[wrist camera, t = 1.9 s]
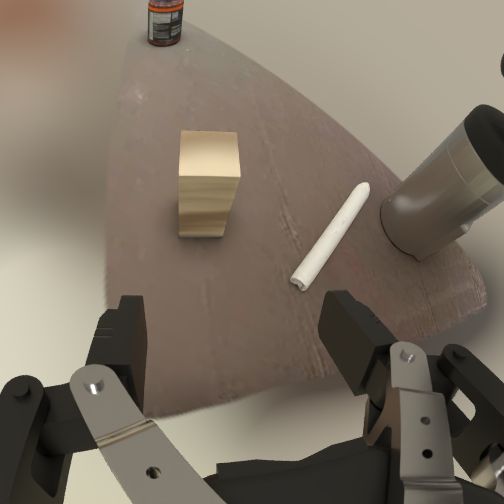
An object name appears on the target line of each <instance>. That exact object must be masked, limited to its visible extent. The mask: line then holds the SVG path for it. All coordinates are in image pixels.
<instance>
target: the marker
mask: <svg viewBox="0 0 504 504" xmlns="http://www.w3.org/2000/svg"><path fill="white" fill-rule="evenodd" d="M369 193H370V188H369V184H368V183H367V182H365V183H361V184H359V185H357V186H356V187H355V189H354V190H353V191H352V193H351V194H350V196H349V197H348V199H347V200H346V201H345V203H344V204H343V206H342V207H341V209H340V210H339V211H338V213H337V214H336V216H335V217H334V218H333V220H332V221H331V223H330V224H329V226H328V227H327V228H326V230H325V231H324V232H323V234H322V235H321V237H320V238H319V239H318V241H317V242H316V244H315V245H314V246H313V248H312V249H311V250H310V252H309V253H308V255H307V256H306V257H305V259H304V260H303V261H302V263H301V264H300V265H299V267H298V268H297V269H296V271H295V272H294V273H293V275H292V277H291V278H290V282H292V283H294V284H297V285H298V286H299V287H298V288H300V289H301V288H302V289H301V291H305V290H306V289H307V288H308V287H309V286H310V284H311V283H312V281H313V280H314V279H315V277H316V276H317V274H318V273H319V271H320V270H321V268H322V267H323V265H324V264H325V263H326V261H327V260H328V258H329V257H330V255H331V254H332V252H333V251H334V249H335V248H336V246H337V245H338V243H339V242H340V240H341V239H342V237H343V236H344V234H345V232H346V231H347V229H348V228H349V226H350V225H351V223H352V222H353V220H354V219H355V217H356V215H357V214H358V212H359V211H360V209H361V208H362V206H363V204H364V203H365V201H366V200H367V198H368V196H369Z"/></svg>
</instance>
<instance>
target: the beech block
mask: <svg viewBox="0 0 504 504" xmlns="http://www.w3.org/2000/svg"><path fill="white" fill-rule="evenodd" d="M240 177H241V176H240V165H239V153H238V142H237V133H233V132H212V131H181V143H180V162H179V238H222V237H223V234H224V230H225V227H226V224H227V220H228V217H229V213H230V210H231V207H232V203H233V200H234V197H235V193H236V190H237V187H238V184H239V180H240Z"/></svg>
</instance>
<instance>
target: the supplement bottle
mask: <svg viewBox="0 0 504 504" xmlns="http://www.w3.org/2000/svg"><path fill="white" fill-rule="evenodd" d="M183 4H184V0H149V4H148V41H149V42H150V43H152V44H154V45H158V46H167V45H171V44H174V43H176V42H178V41H179V39H180V37H181V26H182V15H183Z"/></svg>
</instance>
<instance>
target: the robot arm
mask: <svg viewBox="0 0 504 504" xmlns="http://www.w3.org/2000/svg"><path fill="white" fill-rule="evenodd" d="M501 72H502V75H503V77H504V54H503V57H502V60H501ZM503 201H504V113H502V112H501V111H499V110H497V109H495V108H493V107H491V106H489V105H483V104H482V105H479V106H477V107H476V108H474V109H473V110H472V111H471V112H470V114H469V115H468V116H467V117H466V118H465V119H464V120H463V122H461V123H460V125H459V126H458V127H457V128H456V129H455V130H454V131H453V132H452V133H451V134H450V135H449V136H448V137H447V138H446V139H445V140H444V141H443V142H442V143H441V144H440V145H439V146H438V147H437V148H436V149H435V150H434V152H433V153H431V155H430V156H429V157H428V158H427V159H426V160H425V161H424V162H423V163H422V164H421V165H420V166H419V167H418V168H417V169H416V170H415V171H413V172H412V173H411V174H410V175H409V176H408V178H406V179H405V180H404V181H403V182H402V183H401V184H400V185H399V186H398V187H397V188H396V189H395V190H394V191H393V192H392V193H391V194H390V195H389V196H388V197H387V198H386V199H385V200H384V202H383V204H382V206H381V220H382V224H383V227H384V229H385V231H386V233H387V235H388V237H389V238H390V240H391V241H392V242H393V243H394V244H395V245H396V246H397V247H398V248H399V249H400V250H402V251H403V252H405V253H407V254H410V255H413V256H414V257H415V258H416V259H417V260H418V261H421V260H423V259H424V258H426V257H428V256H430V255H431V254H433V253H435V252H436V251H438V250H440V249H441V248H443V247H445V246H446V245H448V244H449V243H451V242H453V241H454V240H456V239H457V238H459V237H461V236H462V235H464V234H465V233H467V232H468V231H469V229H470V227H471V225H472V223H473V222H474V221H475V220H477V219H478V218H480V217H481V216H483V215H484V214H485V213H487V212H489V211H490V210H491V209H493V208H494V207H496V206H497V205H498V204H500V203H501V202H503ZM318 333H319V337H320V339H321V341H322V342H323V344H324V346H325V347H326V349H327V351H328V352H329V354H330V356H331V357H332V359H333V361H334V362H335V364H336V366H337V367H338V369H339V370H340V372H341V374H342V375H343V377H344V379H345V380H346V382H347V384H348V385H349V387H350V389H351V390H352V392H353V394H354V395H355V396H358V395H362V394H366V393H367V394H368V396H369V397H368V399H367V402H366V407H365V417H364V428H363V437H360V438H357V439H353V440H350V441H346V442H342V443H338V444H334V445H331V446H329V447H327V448H325V449H323V450H321V451H319V452H317V453H315V454H313V455H311V456H309V457H307V458H304V459H302V460H300V461H274V460H257V459H256V460H248V461H239V462H230V463H218V464H216V467H217V469H216V470H217V473H216V474H213V475H210V476H207V477H205V478H203V479H202V478H201V477H200V476H199V475H198V473H197V472H196V471H195V470H194V469H193V468H192V467H191V466H190V464H188V462H187V461H186V460H185V459H184V458H183V456H182V455H181V454H180V453H179V452H178V450H177V449H176V448H175V447H174V446H173V444H172V443H171V442H170V441H169V439H168V438H167V437H166V436H165V434H164V433H163V432H162V431H161V429H160V428H159V427H158V425H157V424H156V423H155V422H154V421H152V420H149V421H147V420H146V419H145V417H144V416H143V401H144V383H145V369H146V356H147V329H146V321H145V312H144V302H143V296H130V295H122V297H121V300H120V304H119V307H118V309H108V310H107V311H106V312H105V313H104V314H103V315H102V316H101V317H100V318H99V321H98V325H97V329H96V331H95V334H94V337H93V340H92V344H91V347H90V350H89V353H88V357H87V361H86V364H85V366H84V367H82V368H80V369H78V370H77V371H76V372H75V373H74V374H73V375H72V377H71V379H70V382H69V383H66V384H62V385H56V386H51V387H45V388H44V387H43V385H42V383H41V382H40V381H39V380H38V379H37V378H35V377H33V376H28V375H22V376H18V377H15V378H13V379H11V380H10V381H9V382H7V383H6V385H5V386H4V388H3V390H2V392H1V394H0V504H63V502H64V496H65V490H66V484H67V479H68V474H69V469H70V464H71V460H72V455H73V453H76V452H82V451H87V450H92V449H97V448H99V450H100V452H101V453H102V455H103V457H104V459H105V461H106V462H107V464H108V466H109V467H110V469H111V471H112V472H113V474H114V476H115V477H116V479H117V480H118V482H119V484H120V485H121V487H122V488H123V490H124V491H125V493H126V494H127V496H128V497H129V499H130V500H131V502H132V503H133V504H504V383H503V382H502V381H501V380H500V379H499V378H498V377H497V376H496V375H495V374H494V373H493V372H491V371H490V370H489V369H488V368H487V367H486V366H485V365H484V364H483V363H482V362H481V361H480V360H479V359H478V358H476V357H475V356H474V355H473V354H472V353H471V352H470V351H469V350H468V349H466V348H465V347H463V346H460V345H457V344H449V345H446V346H445V347H444V349H443V351H442V353H441V355H440V356H433V355H430V356H429V355H426V354H425V352H424V351H423V350H422V349H421V348H420V347H418V346H417V345H415V344H412V343H409V342H399V341H398V340H397V339H396V338H395V337H394V336H393V334H392V333H391V332H390V331H389V330H388V329H387V328H386V327H385V325H384V324H383V323H381V321H380V320H379V319H378V318H377V317H375V314H374V313H373V312H372V311H371V310H370V309H369V308H368V307H367V306H365V305H363V304H362V303H360V302H359V301H356V300H355V299H354V298H353V296H352V295H351V294H350V293H349V292H348V291H347V290H336V291H328V292H327V293H326V294H325V298H324V302H323V306H322V311H321V315H320V319H319V324H318ZM459 389H460V390H461V391H462V392H463V393H464V394H465V395H466V396H467V398H469V400H470V401H471V402H472V403H473V404H474V405H475V409H476V413H475V416H474V417H473V419H472V420H471V421H470V420H469V419H468V418H467V417H466V416H465V414H464V413H463V412H462V411H461V410H460V409H459V408H458V407H457V406H456V404H455V403H454V402H453V401H452V399H453V397H454V396H455V394H456V392H457V391H458V390H459ZM453 457H454V458H455V459H456V461H457V462H458V463H459V464H460V466H461V467H462V468H463V470H464V471H465V472H466V473H467V475H468V476H469V478H470V479H471V480H472V482H469V481H466V480H464V479H461V478H459V477H456V476H454V465H453Z"/></svg>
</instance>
